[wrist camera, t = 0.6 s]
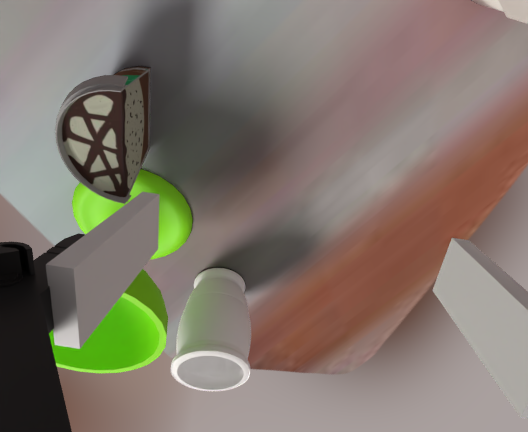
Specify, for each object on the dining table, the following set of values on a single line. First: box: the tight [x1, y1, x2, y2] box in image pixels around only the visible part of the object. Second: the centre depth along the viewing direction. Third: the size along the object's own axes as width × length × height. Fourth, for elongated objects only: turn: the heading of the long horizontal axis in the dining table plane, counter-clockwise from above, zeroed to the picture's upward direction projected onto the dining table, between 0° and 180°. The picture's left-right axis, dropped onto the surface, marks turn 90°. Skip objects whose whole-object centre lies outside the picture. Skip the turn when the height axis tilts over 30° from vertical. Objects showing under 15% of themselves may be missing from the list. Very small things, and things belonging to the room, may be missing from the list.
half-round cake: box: [55, 66, 151, 204], centre depth 34 cm, size 12×6×10 cm, turn 168°
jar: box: [171, 268, 251, 391], centre depth 51 cm, size 11×10×15 cm
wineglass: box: [49, 169, 193, 373], centre depth 41 cm, size 16×16×18 cm
